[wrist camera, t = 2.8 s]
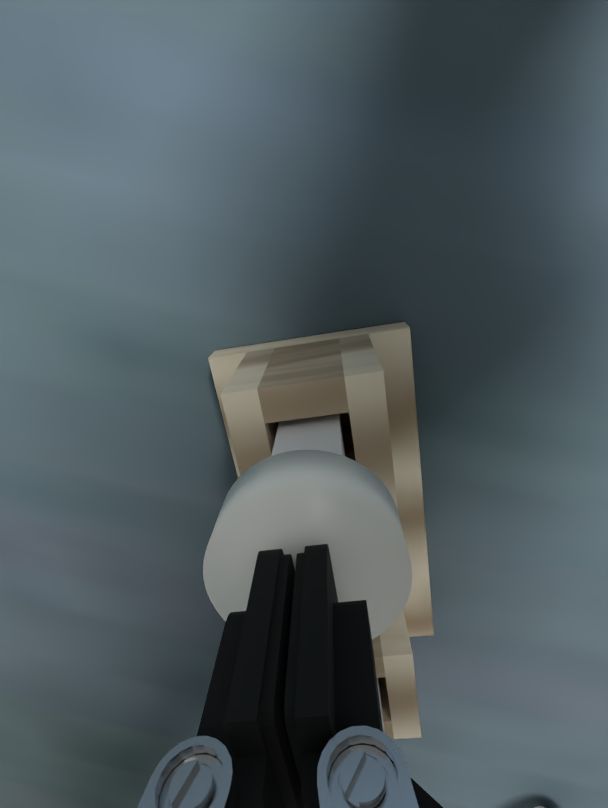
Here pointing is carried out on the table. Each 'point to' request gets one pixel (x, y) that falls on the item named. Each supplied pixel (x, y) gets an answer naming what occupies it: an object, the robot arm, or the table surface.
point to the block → (363, 441)
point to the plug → (311, 523)
